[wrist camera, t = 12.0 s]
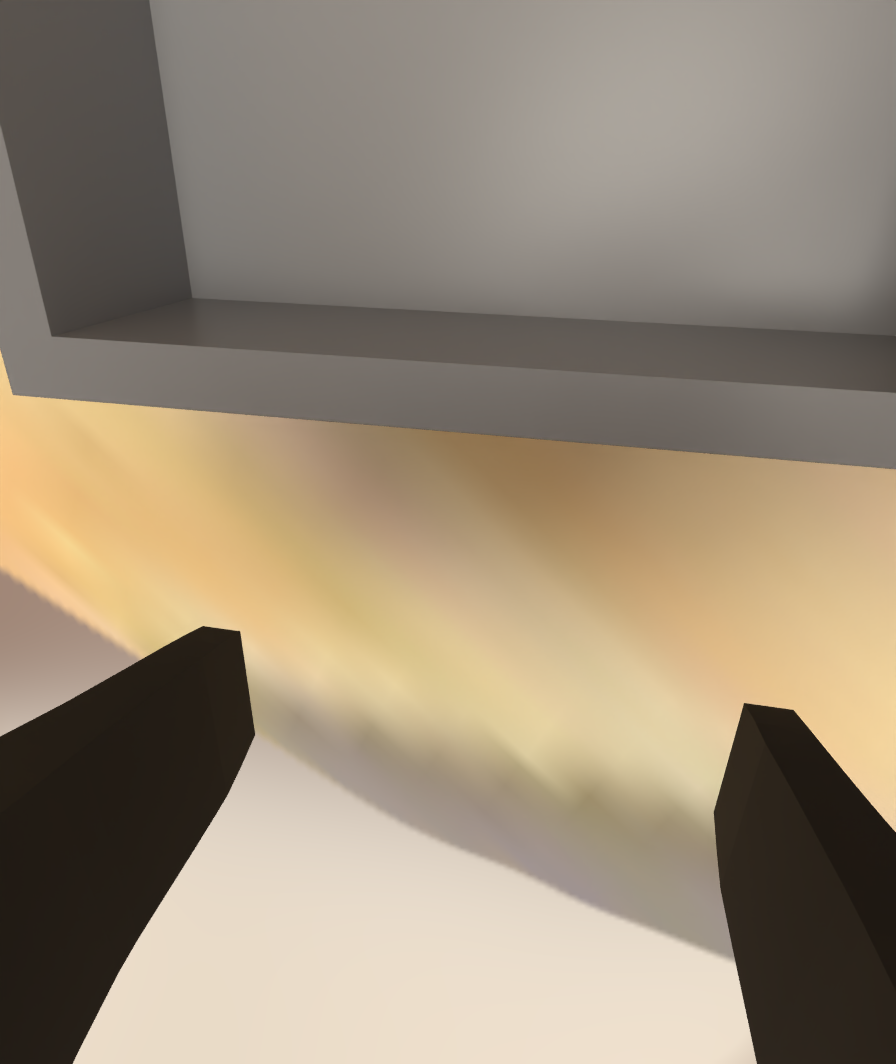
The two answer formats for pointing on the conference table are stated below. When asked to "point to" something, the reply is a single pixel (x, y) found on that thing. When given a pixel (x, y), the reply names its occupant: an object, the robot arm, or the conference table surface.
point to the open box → (461, 216)
